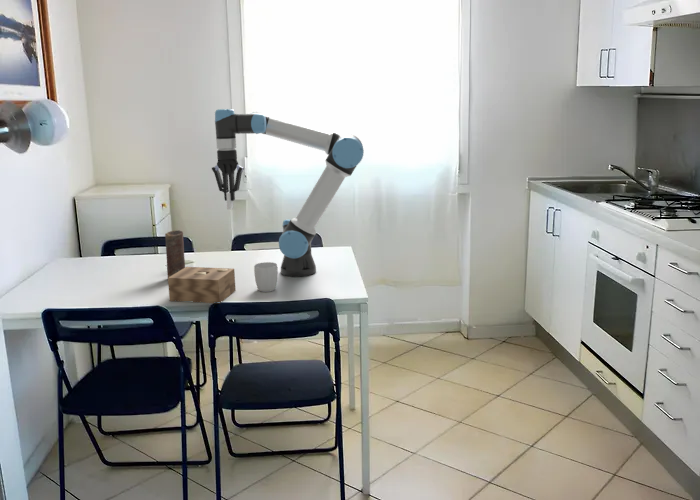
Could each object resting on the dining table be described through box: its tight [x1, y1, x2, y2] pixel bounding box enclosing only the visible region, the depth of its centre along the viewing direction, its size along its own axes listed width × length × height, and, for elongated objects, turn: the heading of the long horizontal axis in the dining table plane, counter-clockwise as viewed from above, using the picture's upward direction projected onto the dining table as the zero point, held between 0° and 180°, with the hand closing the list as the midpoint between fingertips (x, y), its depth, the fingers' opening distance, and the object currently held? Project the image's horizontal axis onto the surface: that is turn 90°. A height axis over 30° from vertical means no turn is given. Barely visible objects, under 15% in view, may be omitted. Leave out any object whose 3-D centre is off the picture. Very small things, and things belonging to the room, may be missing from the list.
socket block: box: [167, 266, 237, 304], centre depth 258 cm, size 20×16×9 cm
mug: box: [253, 261, 279, 293], centre depth 266 cm, size 13×9×10 cm
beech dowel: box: [195, 272, 206, 275], centre depth 258 cm, size 4×4×9 cm
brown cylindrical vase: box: [164, 229, 186, 278], centre depth 281 cm, size 8×7×20 cm
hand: (230, 208), depth 270 cm, fingers closed
